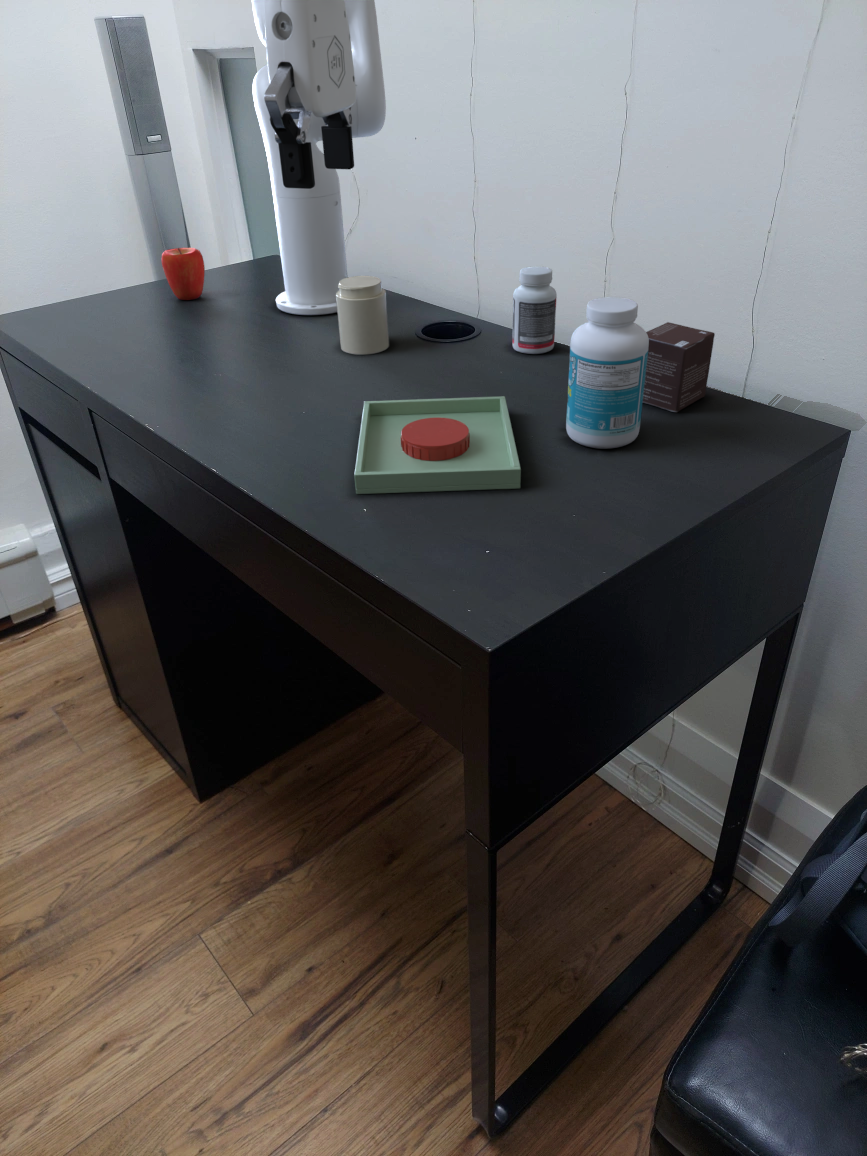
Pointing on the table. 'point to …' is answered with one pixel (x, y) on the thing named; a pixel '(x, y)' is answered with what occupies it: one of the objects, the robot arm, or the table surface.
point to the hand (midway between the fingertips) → (320, 177)
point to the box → (677, 366)
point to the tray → (476, 469)
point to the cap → (435, 439)
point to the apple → (184, 272)
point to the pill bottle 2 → (607, 375)
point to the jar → (362, 315)
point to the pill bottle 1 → (534, 311)
